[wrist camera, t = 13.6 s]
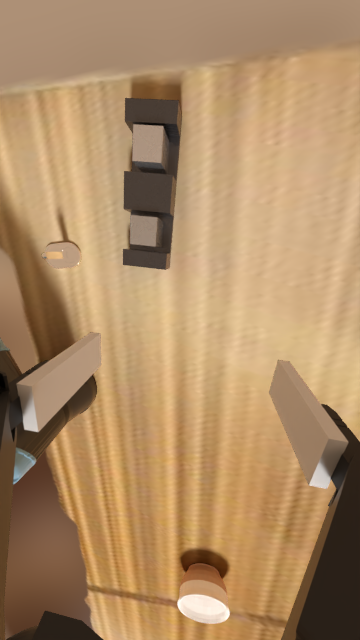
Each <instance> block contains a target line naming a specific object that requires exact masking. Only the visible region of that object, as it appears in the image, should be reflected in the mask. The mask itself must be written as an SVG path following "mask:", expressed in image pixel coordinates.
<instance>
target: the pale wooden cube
mask: <svg viewBox="0 0 360 640" xmlns="http://www.w3.org/2000/svg"><path fill="white" fill-rule="evenodd" d="M168 156H169V140H168V137H167V135H166V132H165V129H164V126H153V125H136V124H133V155H132V161H133V162H134V163H135V165H136V166H137V167H138V168H139V169H140V171H141V172H144V173H157V174H167V170H168Z"/></svg>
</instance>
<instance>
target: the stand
mask: <svg viewBox="0 0 360 640" xmlns="http://www.w3.org/2000/svg"><path fill="white" fill-rule="evenodd" d="M81 257H82V256H81V252H80V250H79V248H78V247H77V246H76V245H75V244H73V243H70V242H64V243H55V244H50V245H48V246H47V247H46V249H45V252H43V253H42V258H43V259H46V261H47V263H48V264H49V265H50V266H52V267H53V268H58V269H59V268H71V267H76V266H78V265H79V264H80V262H81Z"/></svg>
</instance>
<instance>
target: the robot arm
mask: <svg viewBox="0 0 360 640" xmlns="http://www.w3.org/2000/svg"><path fill="white" fill-rule="evenodd" d="M9 351H10V349H9V348H7V347H6V346H5V345H4V343H3V341H2V340H1V338H0V640H5V619H4V596H5V583H6V570H7V557H8V544H9V531H10V518H11V505H12V493H13V484H15V483H16V482H17V481H18V480H19V479H20V478H21V477H22V476H23V475H24V474H25V473H26V472H27V471H28V470H29V469H30V468H31V467H32V466H33V465H34V464H35V463H36V461H37V459H38V458H39V457H40V455H41V454H42V453H43V452H44V451H45V449H46V448H47V447H48V446H49V444H50V443H51V442H52V441H53V440H54V438H55V437H56V436H57V435H58V433H59V432H60V431H61V430H62V428H63V427H64V426H65V425H66V424H67V422H69V421H70V420H71V419H73V418H74V417H76V416H77V415H78V414H81V413H83V412H84V411H86V410H87V409H88V408H89V407H90V405H91V404H92V403H93V401H94V400H95V397H96V394H97V387H96V383H95V380H94V378H93V377H92V375H93V373H94V372H95V371H96V370H97V369H98V368H99V367H100V366H101V334H100V333H93V332H90V333H89V334H88V335H86V336H85V337H83V338H82V339H80V340H79V341H77V342H76V343H74V344H73V345H72V346H70V347H69V348H67V349H66V350H64V351H63V352H61V353H60V354H59V355H57V356H56V357H54V358H53V359H51V360H46V361H44V362H41V363H39V364H37V365H35V366H34V367H32V368H31V370H30V369H29V370H28V371H26V372H25V373H24V374H22V373H21V371H20V369H19V367H18V366H17V364H16V362H15V360H14V359H13V357H12V355H11V353H10V352H9ZM269 394H270V396H271V398H272V401H273V403H274V405H275V408H276V410H277V412H278V415H279V417H280V419H281V422H282V424H283V426H284V429H285V431H286V433H287V436H288V438H289V440H290V443H291V445H292V447H293V450H294V452H295V454H296V457H297V459H298V461H299V463H300V466H301V468H302V470H303V473H304V475H305V477H306V480H307V482H308V484H309V485H310V486H315V487H320V488H325V489H327V487H328V485H329V483H330V481H331V479H332V481H333V483H334V485H335V487H336V491H335V493H334V495H333V497H332V499H331V501H330V503H329V505H328V506H329V509H328V512H327V514H326V517H325V520H324V523H323V525H322V528H321V531H320V534H319V537H318V539H317V542H316V545H315V548H314V550H313V553H312V556H311V559H310V561H309V564H308V567H307V570H306V572H305V575H304V578H303V581H302V583H301V586H300V589H299V592H298V595H297V597H296V600H295V603H294V606H293V608H292V611H291V614H290V617H289V619H288V622H287V625H286V628H285V630H284V633H283V636H282V639H281V640H360V442H359V440H358V439H357V438H356V437H355V435H354V434H353V433H352V432H351V430H350V429H349V428H347V425H346V424H345V423H344V422H343V421H342V419H341V418H340V416H339V415H338V414H337V413H336V412H335V411H334V410H333V409H331V408H330V407H329V406H328V405H324V404H320V402H319V401H318V400H317V398H316V397H315V396H314V394H313V393H312V392H311V390H310V389H309V387H308V386H307V385H306V383H305V382H304V381H303V379H302V378H301V377H300V375H299V374H298V373H297V371H296V370H295V368H294V367H293V366H292V364H291V363H290V362H289V361H283V360H278V362H277V365H276V369H275V373H274V376H273V380H272V383H271V387H270V390H269ZM7 640H103V639H102V638H101V637H100V636H98V635H97V634H96V633H95V632H94V631H93V630H92V629H91V628H89V627H88V626H87V625H86V624H85V623H84V622H83V621H81V620H77V619H73V618H70V617H66V616H63V615H59V614H56V613H52V612H48V611H45V612H44V614H43V616H42V619H41V621H40V623H39V625H38V626H34V627H31V628H29V629H26V630H23V631H21V632H19V633H17V634H15V635H13V636H12V637H10V638H8V639H7Z"/></svg>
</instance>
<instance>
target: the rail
mask: <svg viewBox="0 0 360 640" xmlns="http://www.w3.org/2000/svg"><path fill="white" fill-rule="evenodd" d="M125 122H126V124H127V125H128V127H129V128H130V130H131V131H132V133H133V124H136V125H153V126H164V129H165V132H166V135H167V137H168V140H169V156H168V170H167V174H157V173H144V172H141V171H140V169H139V168H138V167H137V166H136V165H135V163H134V162H133V161H132V172H128V171H124V209H125V210H127V211H129V212H131V215H137V216H147V217H157V218H159V219H160V220H162V221H163V235H162V247H154V246H145V245H136V244H130V249H123V265H130V266H139V267H147V268H156V269H165V270H166V269H168V268H170V255H171V243H172V231H173V219H174V207H175V195H176V183H177V171H178V159H179V147H180V135H181V122H182V115H181V110H180V105H179V100H157V99H134V98H125ZM132 155H133V144H132Z"/></svg>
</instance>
